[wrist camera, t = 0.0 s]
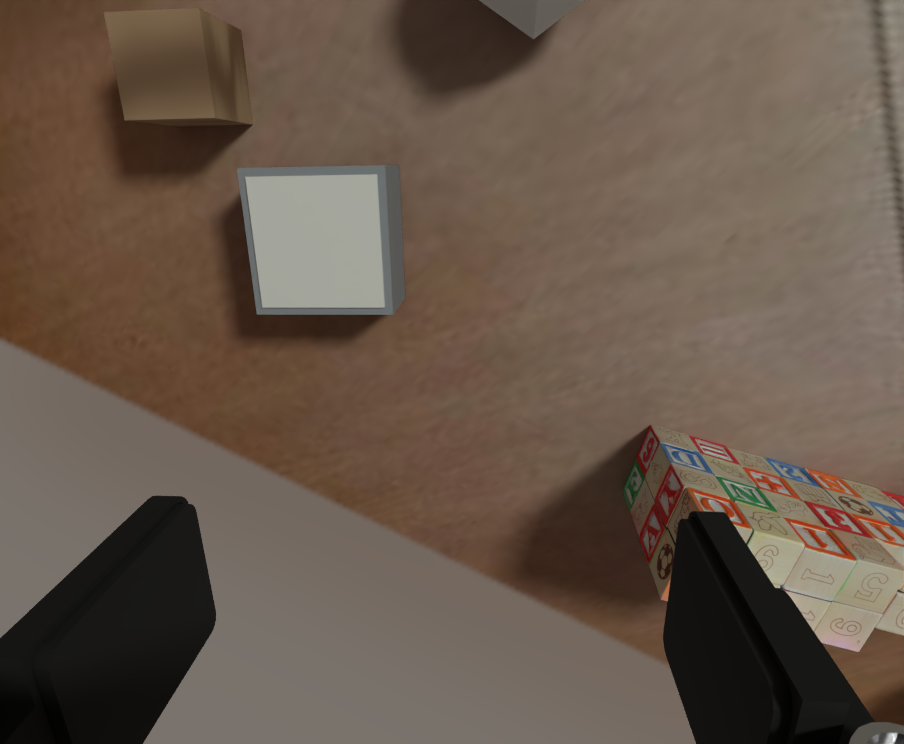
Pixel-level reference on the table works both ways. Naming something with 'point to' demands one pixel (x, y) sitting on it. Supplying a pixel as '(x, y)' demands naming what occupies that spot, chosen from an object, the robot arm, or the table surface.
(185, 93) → the walnut cube
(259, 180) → the block
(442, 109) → the table surface
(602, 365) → the table surface
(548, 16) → the die
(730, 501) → the stack of blocks
